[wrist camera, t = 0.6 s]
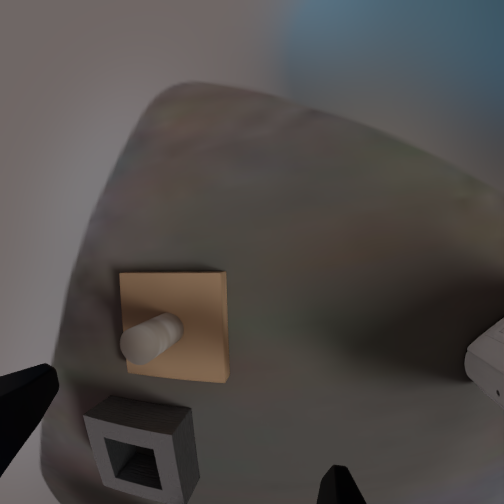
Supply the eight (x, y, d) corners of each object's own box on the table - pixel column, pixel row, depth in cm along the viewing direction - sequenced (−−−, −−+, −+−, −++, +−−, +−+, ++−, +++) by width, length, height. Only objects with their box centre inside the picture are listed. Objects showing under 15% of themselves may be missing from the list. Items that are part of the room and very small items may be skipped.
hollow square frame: (199, 477, 21) (185, 507, 17) (125, 461, 22) (103, 485, 18) (191, 408, 21) (171, 435, 17) (110, 395, 22) (82, 415, 18)
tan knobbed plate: (229, 374, 21) (205, 415, 15) (137, 366, 22) (92, 396, 16) (226, 271, 21) (197, 279, 15) (130, 271, 22) (78, 277, 16)
